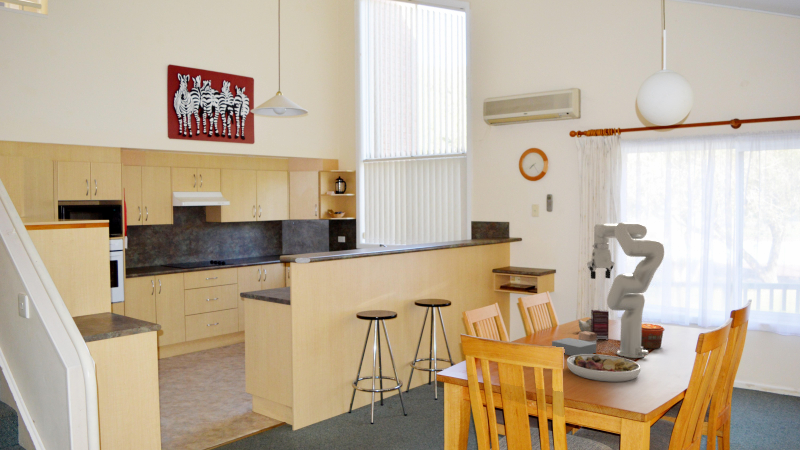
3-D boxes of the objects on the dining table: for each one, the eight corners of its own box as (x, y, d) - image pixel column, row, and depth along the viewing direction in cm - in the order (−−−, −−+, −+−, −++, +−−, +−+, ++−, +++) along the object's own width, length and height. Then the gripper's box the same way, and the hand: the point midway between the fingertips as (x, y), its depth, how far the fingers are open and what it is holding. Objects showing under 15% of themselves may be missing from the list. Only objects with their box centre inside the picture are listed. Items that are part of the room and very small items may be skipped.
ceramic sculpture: (578, 315, 344) (605, 318, 339) (577, 330, 344) (604, 333, 340) (578, 318, 334) (606, 322, 329) (577, 333, 334) (604, 337, 330)
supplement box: (606, 338, 323) (606, 309, 323) (608, 340, 318) (609, 311, 318) (590, 337, 324) (591, 309, 323) (592, 339, 319) (593, 310, 319)
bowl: (582, 361, 272) (582, 344, 272) (649, 373, 253) (649, 355, 253) (555, 374, 249) (555, 356, 248) (626, 388, 230) (627, 369, 229)
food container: (624, 344, 308) (624, 324, 308) (645, 341, 315) (645, 322, 315) (649, 351, 294) (650, 329, 294) (670, 348, 301) (671, 327, 301)
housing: (596, 346, 302) (596, 333, 302) (589, 348, 298) (589, 334, 298) (585, 344, 308) (585, 331, 307) (578, 345, 303) (578, 332, 303)
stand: (596, 353, 287) (596, 343, 287) (579, 357, 278) (579, 347, 278) (568, 347, 299) (568, 337, 299) (551, 351, 290) (552, 341, 290)
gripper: (592, 247, 307) (591, 279, 307) (618, 247, 313) (618, 278, 313) (583, 246, 314) (582, 278, 314) (609, 246, 320) (608, 277, 320)
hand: (600, 278), depth 314 cm, fingers open, 9 cm apart
